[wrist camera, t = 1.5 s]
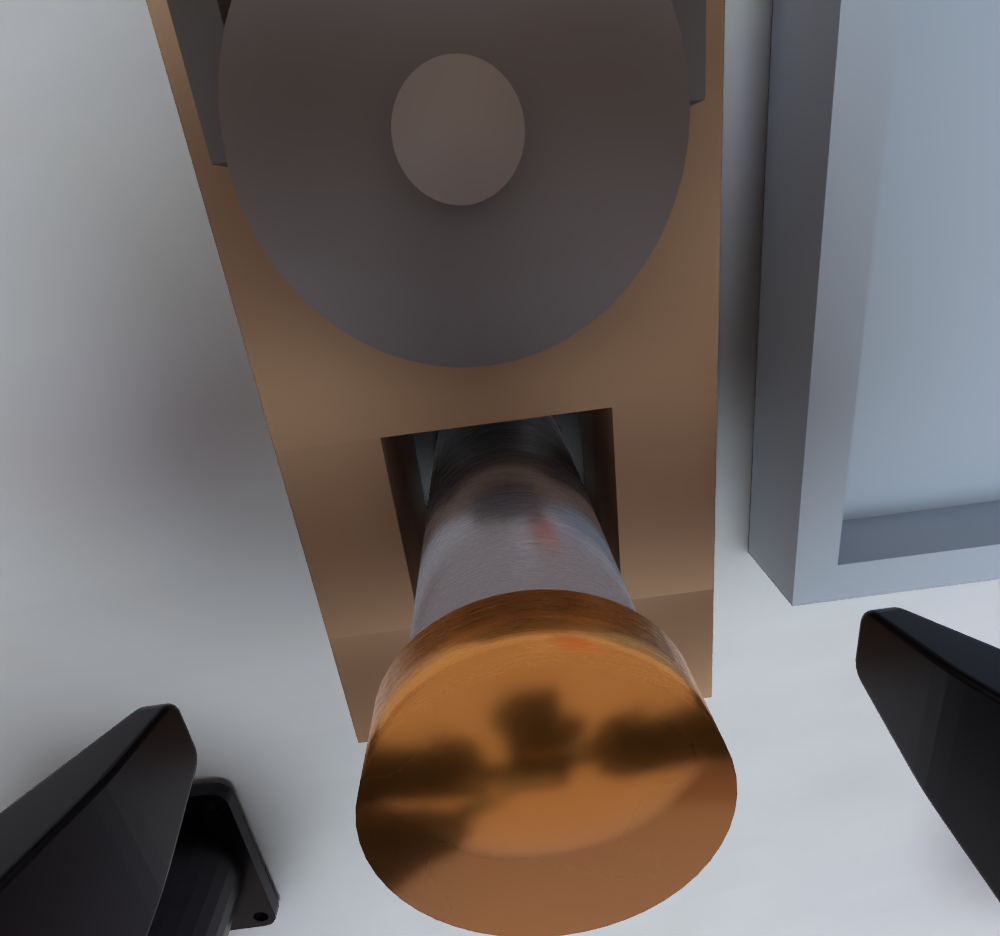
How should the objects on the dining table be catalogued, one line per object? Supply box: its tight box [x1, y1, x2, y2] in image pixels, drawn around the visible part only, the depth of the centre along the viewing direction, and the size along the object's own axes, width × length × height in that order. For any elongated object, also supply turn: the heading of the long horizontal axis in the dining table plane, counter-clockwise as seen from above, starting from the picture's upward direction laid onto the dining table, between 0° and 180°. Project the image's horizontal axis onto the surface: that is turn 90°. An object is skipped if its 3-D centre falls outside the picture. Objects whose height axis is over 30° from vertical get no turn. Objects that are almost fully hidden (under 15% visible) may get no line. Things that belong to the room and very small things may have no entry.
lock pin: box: [356, 415, 737, 936], centre depth 11 cm, size 4×4×10 cm
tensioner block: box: [146, 0, 725, 743], centre depth 12 cm, size 16×8×6 cm, turn 7°
